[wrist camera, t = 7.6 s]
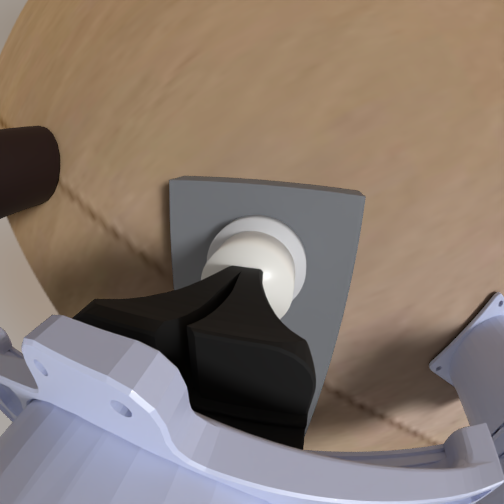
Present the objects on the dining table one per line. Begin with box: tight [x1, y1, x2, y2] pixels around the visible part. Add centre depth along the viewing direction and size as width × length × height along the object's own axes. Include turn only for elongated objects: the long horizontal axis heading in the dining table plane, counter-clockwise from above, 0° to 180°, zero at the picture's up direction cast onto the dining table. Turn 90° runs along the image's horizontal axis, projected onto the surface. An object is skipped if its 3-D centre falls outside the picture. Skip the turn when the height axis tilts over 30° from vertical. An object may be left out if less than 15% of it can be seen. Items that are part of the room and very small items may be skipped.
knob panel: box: [169, 176, 365, 437], centre depth 18 cm, size 22×10×3 cm, turn 177°
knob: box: [201, 231, 296, 319], centre depth 13 cm, size 4×4×2 cm
